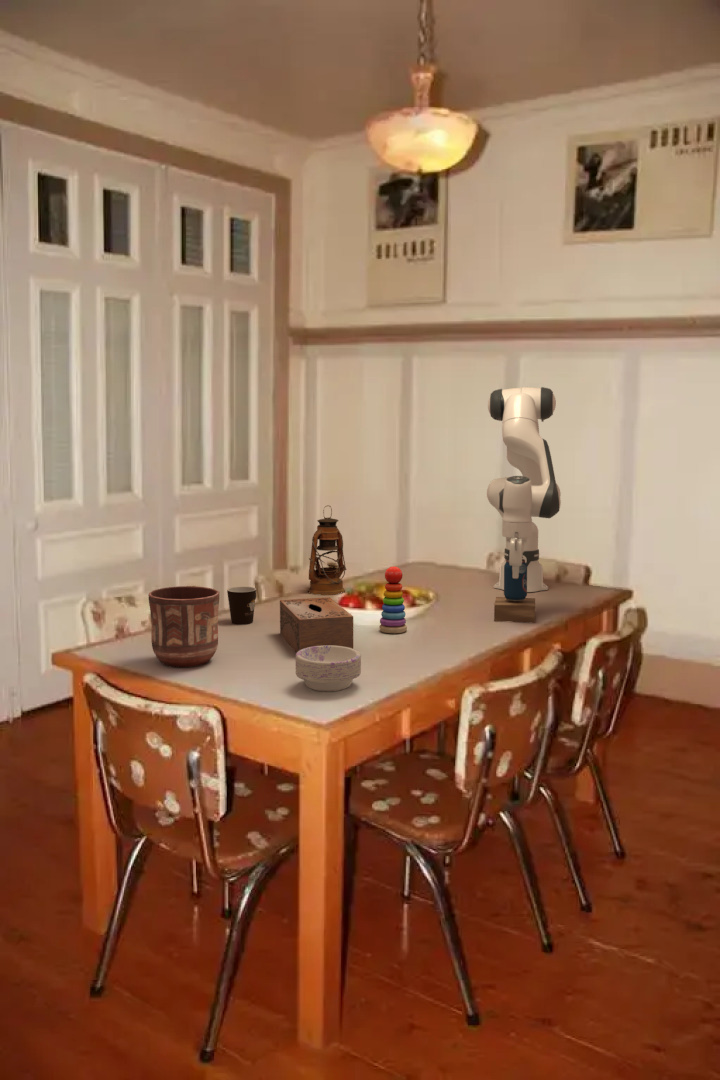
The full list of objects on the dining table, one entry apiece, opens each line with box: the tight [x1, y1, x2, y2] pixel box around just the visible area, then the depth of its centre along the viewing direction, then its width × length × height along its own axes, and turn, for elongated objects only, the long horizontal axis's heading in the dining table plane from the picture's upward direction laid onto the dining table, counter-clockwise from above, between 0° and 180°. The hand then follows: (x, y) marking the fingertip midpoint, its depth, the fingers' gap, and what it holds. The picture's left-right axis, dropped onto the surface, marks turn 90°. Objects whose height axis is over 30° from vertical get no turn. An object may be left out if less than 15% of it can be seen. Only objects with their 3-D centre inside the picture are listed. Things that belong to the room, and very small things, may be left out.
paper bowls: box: [294, 645, 362, 692], centre depth 227 cm, size 15×15×8 cm
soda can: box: [503, 559, 528, 601], centre depth 296 cm, size 7×7×12 cm
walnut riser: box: [493, 596, 536, 624], centre depth 298 cm, size 12×12×5 cm
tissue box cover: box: [279, 596, 354, 654], centre depth 267 cm, size 26×14×10 cm, turn 16°
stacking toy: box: [378, 566, 408, 635], centre depth 279 cm, size 8×8×19 cm
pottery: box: [148, 585, 220, 668], centre depth 247 cm, size 18×18×18 cm
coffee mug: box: [226, 586, 257, 626], centre depth 292 cm, size 12×9×10 cm
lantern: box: [307, 505, 347, 596], centre depth 336 cm, size 17×13×30 cm
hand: (515, 575), depth 296 cm, fingers closed on soda can, 6 cm apart
